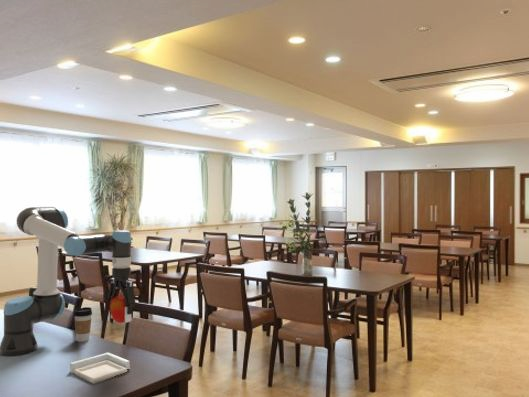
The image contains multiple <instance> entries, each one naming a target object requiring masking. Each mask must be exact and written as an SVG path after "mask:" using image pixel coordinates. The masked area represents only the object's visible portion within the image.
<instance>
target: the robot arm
mask: <svg viewBox="0 0 529 397" xmlns="http://www.w3.org/2000/svg"><path fill="white" fill-rule="evenodd" d="M68 225H69V217H68V215H67V213H66V212H65V210H64V209H63V208H61V207H58V206H57V207H56V206H43V207H42V206H40V207H39V206H36V207H34V206H33V207H27V208H25V209H23V210H21V211H20V213H19V214H18V215H17V217H16V227H17V228H18V229H19V230H20V232H22V233H24V234H26V235H28V236H35V237H36V238H37V239H38V246H37V247H38V248H37V249H38V250H37V272H36V273H37V278H36V280H37V281H36V282H37V283H36V289H35V290H34V291H33V293H32V296H31V295H24V296H23V295H22V296H17V297H14V298H11V299H9V300H7V301H6V302H5V303H4V305H3V306H4V307H3V336H2V340H1V342H0V355H2V356H5V357H8V356H9V357H11V356H15V357H16V356H21V355H27V354H30V353H33V352H34V351H36V350H37V349H38V341H37V339H36V335H35V333H34V324H39V323H42V322H46V321H51V320H53V319H56V318H59V317H60V316H61V315H63V312H64V311H65V307H66V301H65V300H66V299H65V297H64V296H63V294H62V293H61V290H59V289H58V262H59V261H58V259H59V247H60V248H63V250H64V251H65V252H66V254H67V255H69V256H82V255H88V254H89V255H90V254H95V253H96V254H97V253H102V252H103V253H104V252H105V253H111V254H112V264H111V266H112V268H111V269H112V270H111V276H112V278H111V277H110V278H109V287H108V292H107V301H109V302H110V303H111V300H112V299H113V298H114V297H116V296H120V295H119V294H120V291H121V292H122V296H124V299H125V303H126V306H125V322H124V323H125V324H127V323H130V322H132V314H133V306H135V305H136V298H135V290H134V281H133V280H132V281H130V280H129V277H130V276H131V274H132V272H131V266H132V260H131V259H132V258H131V257H132V256H131V252H132V248H131V247H132V237H131V236H132V235H131V231H129V230H123V229H122V230H121V229H119V230H113V231H112V234H106V233H97V234H96V233H95V234H94V235H93V234H92V235H82V234H78V233H76V232H74V231H73V230H72V231H71V230H69V229H67V227H68ZM110 303H109V304H110ZM128 303H129V304H128ZM110 319H113V317H112V315H111V314H110Z"/></svg>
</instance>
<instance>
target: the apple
mask: <svg viewBox="0 0 529 397" xmlns="http://www.w3.org/2000/svg"><path fill="white" fill-rule="evenodd" d="M128 304H129V303H128ZM125 306H126V303H125V299H124V296H123V293H121V295H118V296H116V297H114V298H113V299H112V300H111V303H109V311H110V316H111V315H112V317H113V318H112V319H113V321H115V322H116V323H119V324H121V323H125Z"/></svg>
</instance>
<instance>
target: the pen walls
mask: <svg viewBox="0 0 529 397" xmlns="http://www.w3.org/2000/svg"><path fill="white" fill-rule="evenodd" d="M106 360H108V361H111V362H113V363H115V364H118V365H120V366H123V367H125V368H127V369H131V367H130V366H131V363H130V362H131V361H130V360H128V359H126V358H123V357H120V356H118V355H116V354H113V353H110V352H105V353H101V354H97V355H94V356H91V357H87V358H84V359H79V360H75V361H74V362H70V363H69V371H70V372H69V373H71V374H74V373H75V369H79V368H82V367H85V366H89V365H92V364H96V363H99V362H102V361H106Z"/></svg>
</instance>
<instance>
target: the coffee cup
mask: <svg viewBox="0 0 529 397" xmlns="http://www.w3.org/2000/svg"><path fill="white" fill-rule="evenodd" d="M92 315H93V310H92V307H89V306H88V307H87V306H85V307H80V308H76V309H75V310H74V312H73V316H74V328H75V340H76V342H78V343H79V342H80V343H81V342H87V341H89V340H90V337H91V334H90V333H91V327H92V326H91V325H92Z"/></svg>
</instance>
